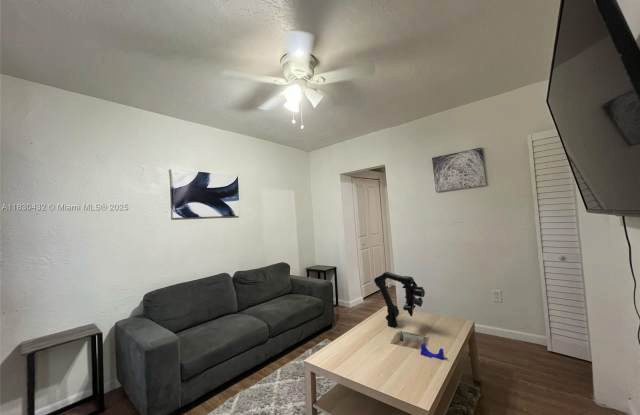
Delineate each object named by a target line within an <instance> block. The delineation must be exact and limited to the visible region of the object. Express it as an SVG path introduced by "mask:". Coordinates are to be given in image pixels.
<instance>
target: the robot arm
mask: <svg viewBox="0 0 640 415" xmlns="http://www.w3.org/2000/svg"><path fill="white" fill-rule="evenodd" d="M389 279H390V280H391V281H392V280H393V281H396V282H399V283H401V284H402V285H403V286H402V289H404V290H405V291H404V292H405V296H404V298H405V304H404V305H403V306H402V309H403V310H404V311H407V313H408V314H409V316H410V317H413V315H414V309H415V308H416V307H417V306H418V307H419V308H421V307H422V305H423V302H424V300H423V298H424V297H425V295H426V291H425V289H424V287H423V286H418V284H417V283H416V281H415V279H414V278H413V277H412V276H406V275H404V276H403V275H400V274H396V273H392V272H388V271H385V272H383V273H382V274H380V275H379V276H376V277H375V278H374V280H373V281H374V283H375V285H376V287H377V288H378V289H379V290H380V293H381V295H382V297H383V299H384V301H385V305H386V306H387V307H386V308H387V310H386V311H387V315H386V316H385V320H387V327H389V328H398V325H399V324H398V320H397V318H398V316H399V315H400V310H399V308H398V306H397V305H394V302H393V301H392V298H391V296H390V294H389V293H390V292H389V291H388V289H387V287H386V282H387V281H386V280H389ZM417 297H418V298H417Z"/></svg>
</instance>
